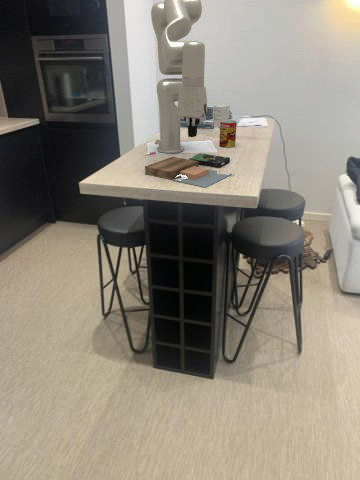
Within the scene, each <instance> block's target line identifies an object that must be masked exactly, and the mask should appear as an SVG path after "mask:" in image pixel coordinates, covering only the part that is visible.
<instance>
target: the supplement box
mask: <svg viewBox="0 0 360 480" xmlns="http://www.w3.org/2000/svg"><path fill="white" fill-rule="evenodd" d="M222 120H230V105H226V104H217V105H213V107H212V123H213V122H214V126H215V127H214V128H216V127H218V128H217V129H220V121H222Z"/></svg>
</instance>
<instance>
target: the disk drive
mask: <svg viewBox="0 0 360 480" xmlns="http://www.w3.org/2000/svg"><path fill="white" fill-rule="evenodd" d="M189 160H194V161H199V166H202V167H209V168H216V169H222V167H224V166H226V165H229V164H230V162H231V157H227V156H220V155H215V154H214V155H213V154H207V153H206V154H205V153H198V154H195V155H194V156H192V157H189Z"/></svg>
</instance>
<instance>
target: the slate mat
mask: <svg viewBox="0 0 360 480" xmlns="http://www.w3.org/2000/svg"><path fill="white" fill-rule="evenodd" d="M217 171H218V170H213V169H209V172H208V175H205V176H203V177H201V178H198V179H196V180H192V179H187V180H183V181H178V180H176V179H177V178H175V179H173V180H172V181H173V182H176V181H178V182H177V183H182V184H185V183H186V185H191V186H194V185H195V187H199V186H200V188H203V187H205V188H204V189H206V187H207V188H208V186H209V187H210V185H211V186H213V185H215V184H216V183H219V182H220V181H222V180H224V179H226V178H228V177H230V176H231V175H218V174H217Z"/></svg>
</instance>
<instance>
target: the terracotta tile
mask: <svg viewBox="0 0 360 480" xmlns="http://www.w3.org/2000/svg"><path fill="white" fill-rule="evenodd" d="M209 170H210V169H209V168H204V167H200V166H199V167H196V166H193V167H190V168H187V169H185V170H182V171H180V174H182V175H186V176H187V177H188V179H192V180H196V179H198V178H201V177H203V176H205V175H208V172H209Z"/></svg>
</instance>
